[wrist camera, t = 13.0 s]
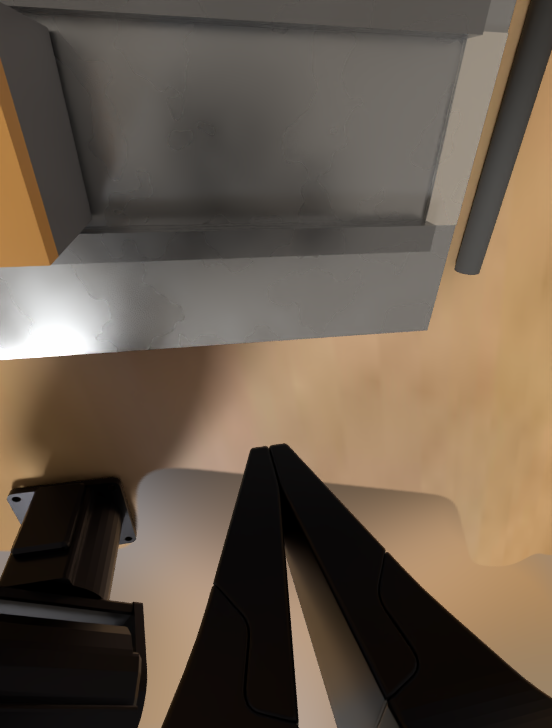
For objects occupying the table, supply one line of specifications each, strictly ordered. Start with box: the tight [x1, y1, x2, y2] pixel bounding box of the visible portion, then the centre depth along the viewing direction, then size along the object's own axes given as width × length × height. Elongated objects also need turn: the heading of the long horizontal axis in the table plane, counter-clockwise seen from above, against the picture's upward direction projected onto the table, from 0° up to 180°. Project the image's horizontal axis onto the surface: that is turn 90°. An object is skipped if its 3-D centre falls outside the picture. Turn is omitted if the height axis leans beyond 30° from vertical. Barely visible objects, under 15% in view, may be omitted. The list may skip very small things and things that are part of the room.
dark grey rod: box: [455, 0, 552, 275], centre depth 17 cm, size 12×1×1 cm, turn 179°
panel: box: [0, 0, 516, 360], centre depth 14 cm, size 16×20×4 cm
